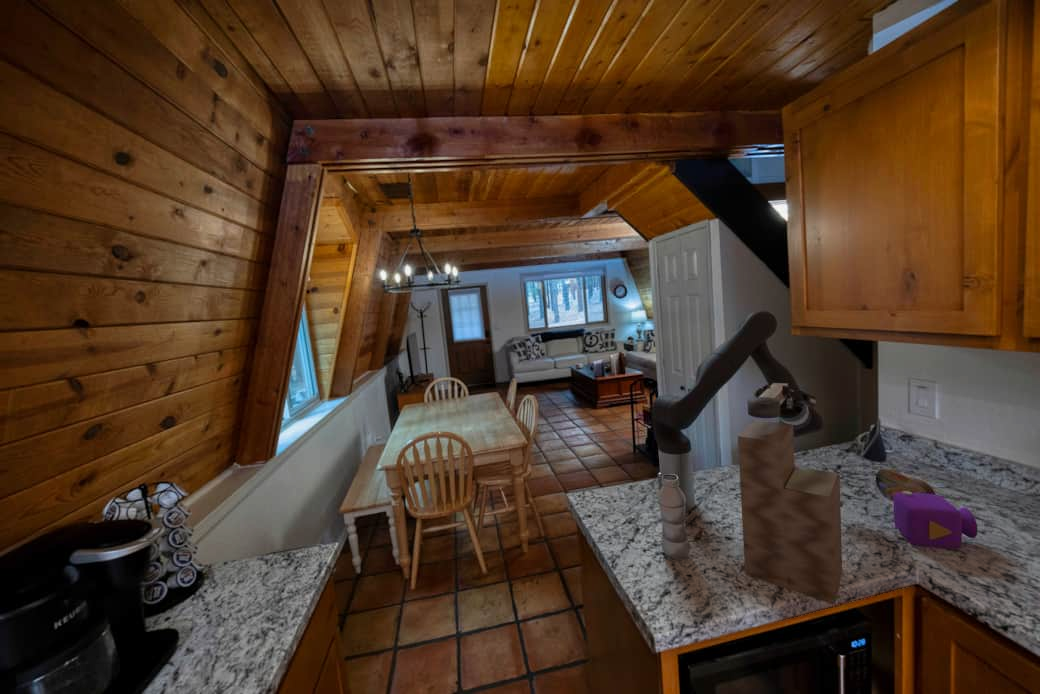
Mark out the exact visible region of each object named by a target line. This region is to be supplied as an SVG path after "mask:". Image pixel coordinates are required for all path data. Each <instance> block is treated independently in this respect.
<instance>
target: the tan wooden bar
mask: <svg viewBox="0 0 1040 694" xmlns="http://www.w3.org/2000/svg"><path fill="white" fill-rule="evenodd" d="M783 385H785V386H787V387H788V384H784V383H773V384H772V385H771V386H770V387H769V388H768V389H767V390H766V391H765V392H764V393H762V394H761V395H760V396H759V397H754V396H753V397H750V398H748V399H747V400H746V402H747V414H748V416H750V417H753V418H756V419H757V418H758V419H775V418H778V417H779V416H780V405H781V404H782V403H783V401H784V400H785V399H786V398H785V397H784V396H783V394H782V390H783V389H782V386H783Z"/></svg>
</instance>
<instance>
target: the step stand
mask: <svg viewBox="0 0 1040 694" xmlns="http://www.w3.org/2000/svg"><path fill="white" fill-rule="evenodd" d="M737 446H738V447H737V448H738V464H739V467H738V468H739V481H740V482H739V483H740V484H739V485H740V503H741V519H742V520H741V522H742V538H743V539H742V542H743V557H744V559H743V560H744V574H745V575H746V576H748V577H752V578H755V579H757V580H761V581H763V582H766V583H769V584H772V585H775V586H778V587H781V588H784V589H786V590H789V591H791V592H796V593H798V594H802V595H805V596H807V597H809V598H810V597H811V598H813V599H816V600H819V601H821V602H824V603H827V604H831V605H834V606H836V604H837V599H838V594H839V589H840V586H841V585H840V583H841V578H842V574H843V558H842V557H843V556H842V555H843V554H842V553H843V552H842V518H841V515H842V514H841V513H842V512H841V486H840V485H841V483H840V482H841V480H840V478H841V475H840V474H838V473H837V472H831V471H827V470H826V471H825V470H821V469H820V470H818V469H813V468H808V467H802V466H795V447H794V446H795V443H794V437H793V425H792V424H782V423H780V422H769V421H764V420H763V421H761V420H754V419H753V420H751V422H750V423H748V425H747V426H745V428H744V429H743V430H742V431H741V432H740V433H739V434H738V435H737Z"/></svg>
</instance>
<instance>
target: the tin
mask: <svg viewBox="0 0 1040 694" xmlns="http://www.w3.org/2000/svg"><path fill="white" fill-rule="evenodd" d="M875 485H876V487H877V489H878V490H879V493H880V494H882V496H884V498H886V499H887V500H889V501H891V502H894V494H895V493H898V492H903V491H909V492H912V493H922V494H934V495H937V493H936V492H935V490H934V489H933V486H931V485H930V484H929V483H928V482H926V481H925V480H922V479H919V478H917V477H915V476H912V475H910V474H907V473H905V472H902V471H900V470H898V469H895V468H882V469H879V470H878V471H877V473H876V475H875Z"/></svg>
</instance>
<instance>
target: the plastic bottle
mask: <svg viewBox="0 0 1040 694" xmlns="http://www.w3.org/2000/svg"><path fill="white" fill-rule="evenodd" d="M662 485H663V487H662V488H661V489H660V491H659V490H658V492H657V502H658V506H659V510H660V517H661V521H662V522H661V523H662V525H661V531H662V532H661V533H662V534H661V538H660V540H661V542H660V545H661V549H662V552H663V553H664V554H665V555H666V556H667V557H669V558H670V559H673V560H676V561H677V560H679V561H680V560H684V559H685V560H686V558H687V557H688V556H689V555H690V548H691V546H690V542H689V538H688V534H687V533H688V532H687V527H686V510H685V507H686V498H685V495H684V493H683V492H682V491H681V489H680V488H679V487H678V486H679V481H678V476H676V475H673V474H665V475H663V476H662Z"/></svg>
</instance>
